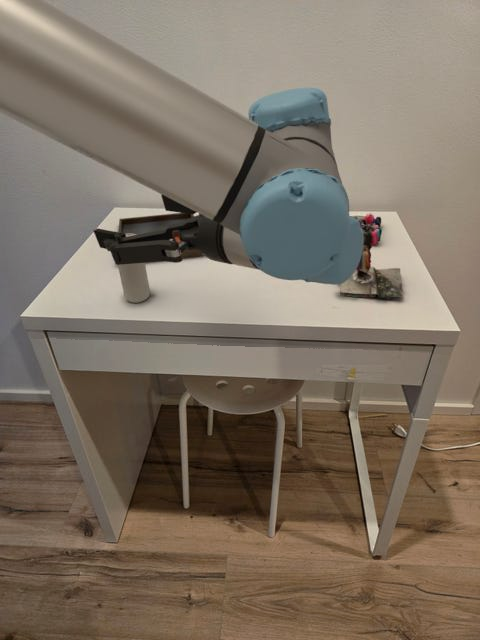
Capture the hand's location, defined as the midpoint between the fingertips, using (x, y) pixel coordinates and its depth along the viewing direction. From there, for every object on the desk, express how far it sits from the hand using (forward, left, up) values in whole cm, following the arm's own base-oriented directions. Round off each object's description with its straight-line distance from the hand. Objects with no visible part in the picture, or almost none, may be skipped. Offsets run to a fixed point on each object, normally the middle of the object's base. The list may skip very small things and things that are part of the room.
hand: (133, 218), depth 67 cm
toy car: (+51, +20, -18) cm, 57 cm away
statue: (+42, 0, -18) cm, 46 cm away
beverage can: (-2, +6, -18) cm, 19 cm away
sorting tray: (+3, +29, -18) cm, 34 cm away
